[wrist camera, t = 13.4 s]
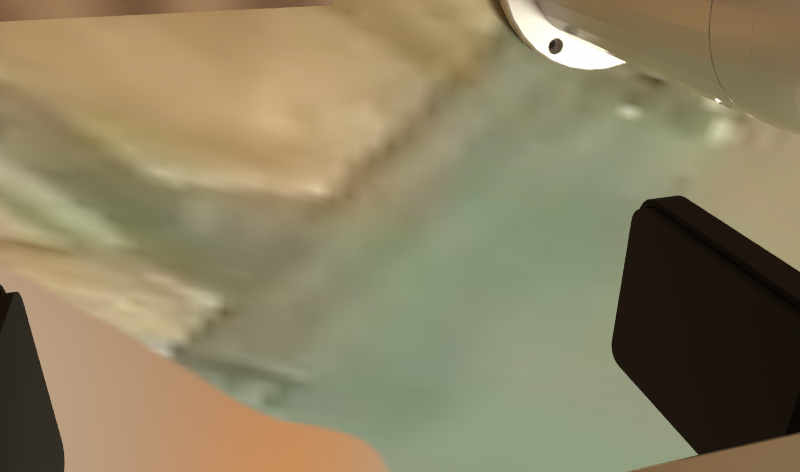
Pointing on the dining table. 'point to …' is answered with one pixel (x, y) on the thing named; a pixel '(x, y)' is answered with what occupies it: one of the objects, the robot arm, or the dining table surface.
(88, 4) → the panel
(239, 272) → the dining table surface
